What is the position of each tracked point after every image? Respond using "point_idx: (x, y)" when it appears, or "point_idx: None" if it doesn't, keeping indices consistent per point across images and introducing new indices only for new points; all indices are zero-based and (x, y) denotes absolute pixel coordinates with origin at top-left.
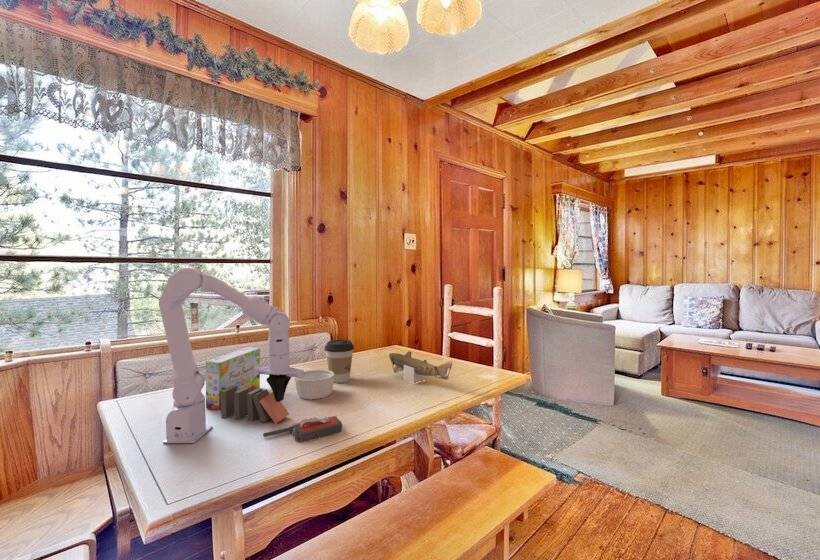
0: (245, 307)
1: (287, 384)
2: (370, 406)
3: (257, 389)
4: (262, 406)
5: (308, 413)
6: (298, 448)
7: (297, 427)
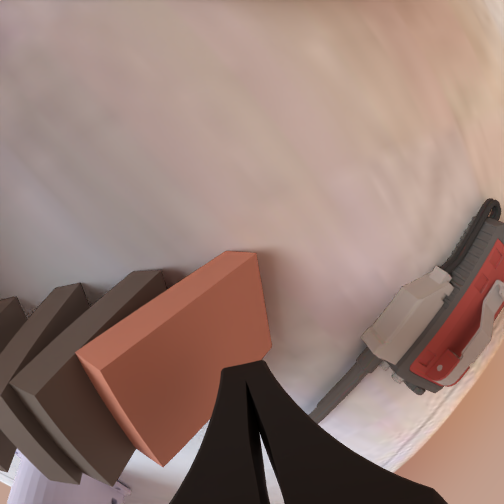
0: None
1: (345, 448)
2: (494, 11)
3: (5, 421)
4: None
5: (323, 141)
6: (426, 394)
7: (421, 384)
